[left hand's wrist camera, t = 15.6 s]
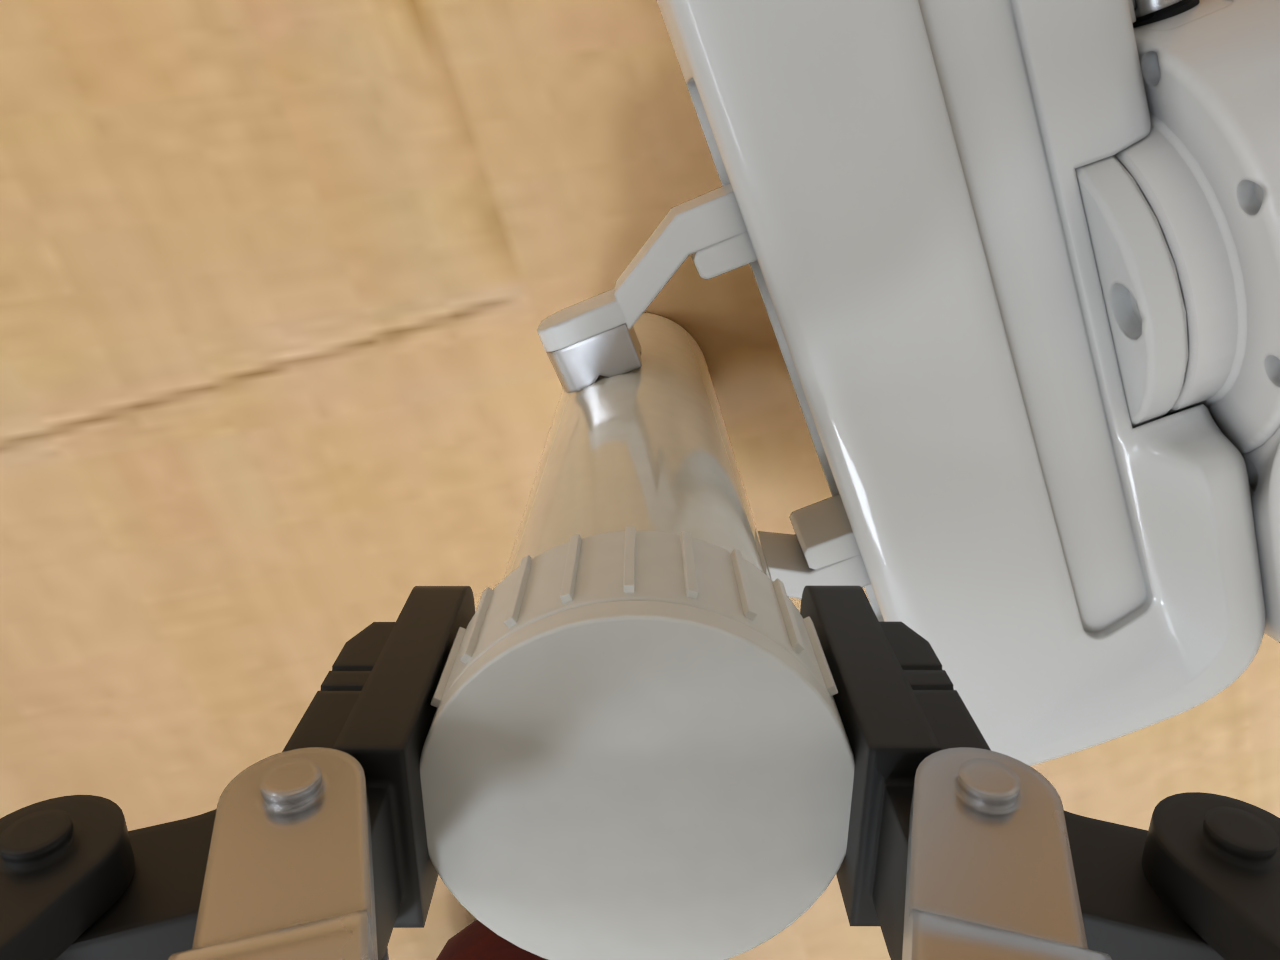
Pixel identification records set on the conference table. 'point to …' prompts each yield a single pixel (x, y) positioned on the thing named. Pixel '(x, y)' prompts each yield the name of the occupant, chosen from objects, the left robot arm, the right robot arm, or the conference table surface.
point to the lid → (637, 754)
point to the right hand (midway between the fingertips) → (601, 467)
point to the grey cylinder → (641, 457)
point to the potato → (483, 946)
